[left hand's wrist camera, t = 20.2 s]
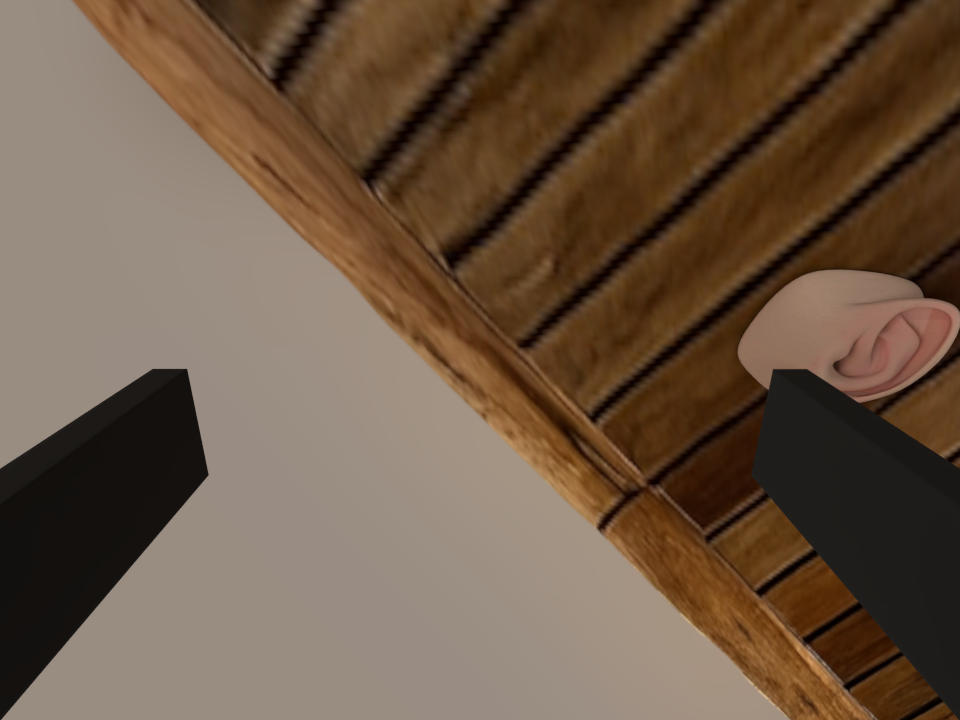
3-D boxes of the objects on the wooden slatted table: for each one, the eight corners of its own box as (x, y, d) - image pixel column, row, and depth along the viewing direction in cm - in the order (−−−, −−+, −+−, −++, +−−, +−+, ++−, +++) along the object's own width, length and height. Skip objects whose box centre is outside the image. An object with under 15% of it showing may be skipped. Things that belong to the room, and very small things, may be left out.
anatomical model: (742, 402, 41) (815, 252, 37) (720, 381, 44) (784, 243, 40) (901, 443, 42) (988, 303, 38) (867, 419, 46) (942, 289, 42)
